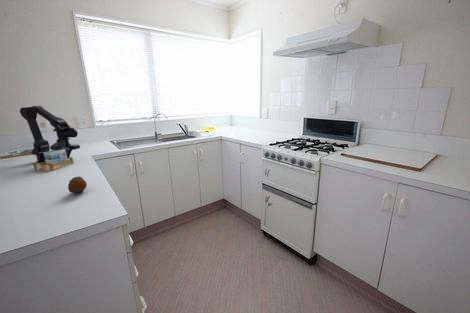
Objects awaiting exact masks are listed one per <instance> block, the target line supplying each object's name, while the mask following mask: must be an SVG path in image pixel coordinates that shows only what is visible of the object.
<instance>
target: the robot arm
mask: <svg viewBox="0 0 470 313" xmlns="http://www.w3.org/2000/svg"><path fill="white" fill-rule="evenodd" d="M19 113H20V115H21V117H22V118H23V119H24V120H25V121H26V122H27V124H28V127H29V130H30V132H31V135H32V137H33V144H32V145H33V149H32V151H31V154H32V155H34V156H35V157H36V163H38V164H40V163H44V162H46V161H45V157H44V153H43V152H47V151H51V150H60V149H65V150H66V155H67V159H68V160H69V158H70V156H71V154H72V151H73V150H78V149H81V146H80V144H77V143H76V144H71V143H70V141H69V140H70V138H77V136H78V134H79V133H78V130H76V129H75V128H74V127H71V125H69V123H68V122H67V121H66V120H65V119H64V118H62V117H58V116H56V115H54V114H52V113H51V112H50V111H48V110H47V109H45V108H43V106H41V105H33V106H25V107H21V108H20V109H19ZM38 115H39V116H41V117H42V118H44V119H45V120H47V121H48V122H49V123H50V124H49V125H50V126H52V127H53V132H55V133H56V137H57V139H56V142H55V143H53V144H52V145H50V143H49V140H46V139H45V138H44V137H43V134H42V132H41V129H40V126H39V124H38V121H37V118H38Z"/></svg>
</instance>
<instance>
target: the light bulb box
mask: <svg viewBox="0 0 470 313" xmlns="http://www.w3.org/2000/svg"><path fill="white" fill-rule="evenodd" d="M43 153H44V157H45V161H46V165H49V164H53V165H54V164H57V163H60V162H63V161H66V160H69V159H67V155H66V150H65V149H60V150H51V149H50V150H49V151H47V152H43Z"/></svg>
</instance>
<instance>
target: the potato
mask: <svg viewBox="0 0 470 313" xmlns="http://www.w3.org/2000/svg"><path fill="white" fill-rule="evenodd" d="M67 189H68V191H69V193H72V194H78V193H81V192H83V191H85V190H86V189H87V181H86V180H85V179H84V178H83V177H82V176H75V177H73V178H71V179H70V180H69V182H68V185H67Z"/></svg>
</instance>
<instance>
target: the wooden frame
mask: <svg viewBox="0 0 470 313" xmlns="http://www.w3.org/2000/svg"><path fill="white" fill-rule="evenodd" d="M73 164H74V159H73V157H72V156H71V157H69V159H68V160H66V161H63V162H60V163H57V164H54V165H53V164H49V165H46V162H43V163H37V162H35V163H32V165H33V169H34V171H35V172H36V171H40V172H43V171H46V172H47V171H48V172H53V171H56V170H59V169H61V168H64V167H67V165H68V166H70V165H73Z"/></svg>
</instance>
